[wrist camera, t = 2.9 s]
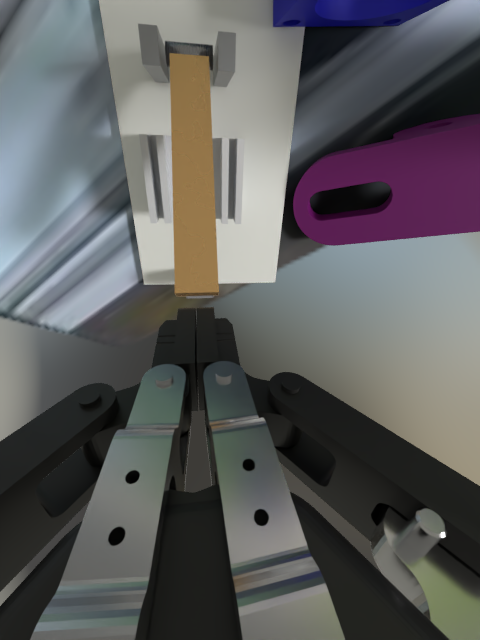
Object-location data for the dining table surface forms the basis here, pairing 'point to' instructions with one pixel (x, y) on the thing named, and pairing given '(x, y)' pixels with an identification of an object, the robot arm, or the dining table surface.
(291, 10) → the cable clip
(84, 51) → the dining table surface
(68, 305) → the dining table surface
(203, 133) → the wooden strip
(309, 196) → the mounting bracket
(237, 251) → the board
